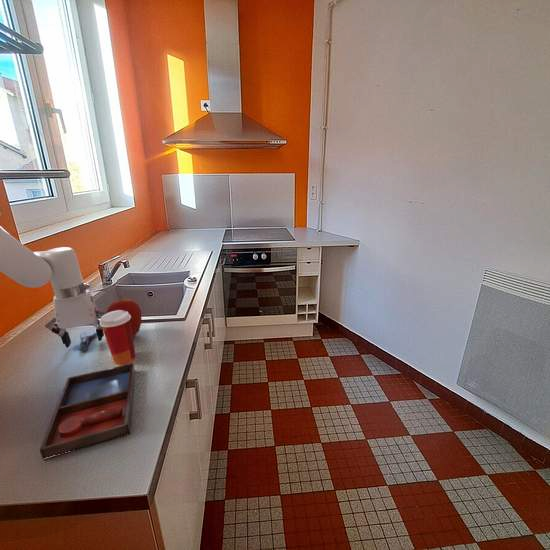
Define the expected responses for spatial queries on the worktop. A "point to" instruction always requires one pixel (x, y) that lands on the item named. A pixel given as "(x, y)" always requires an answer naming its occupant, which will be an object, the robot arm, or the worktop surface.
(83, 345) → the blue spoon
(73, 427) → the red spoon
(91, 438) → the tray
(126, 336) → the paper cup
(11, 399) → the worktop surface
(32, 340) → the worktop surface
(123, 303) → the apple
